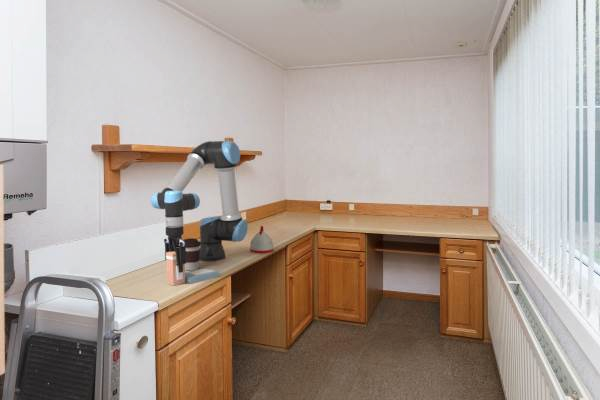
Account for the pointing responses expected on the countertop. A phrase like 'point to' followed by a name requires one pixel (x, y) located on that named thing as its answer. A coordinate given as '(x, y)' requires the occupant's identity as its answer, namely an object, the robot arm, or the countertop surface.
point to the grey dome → (261, 243)
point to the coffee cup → (192, 254)
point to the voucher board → (200, 275)
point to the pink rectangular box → (173, 269)
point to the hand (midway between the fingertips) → (176, 278)
